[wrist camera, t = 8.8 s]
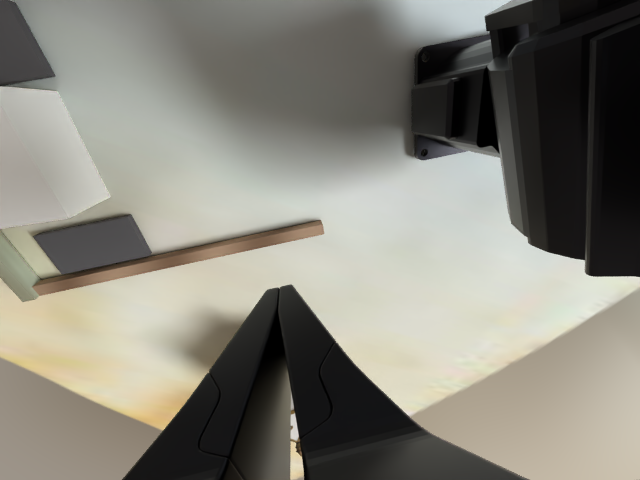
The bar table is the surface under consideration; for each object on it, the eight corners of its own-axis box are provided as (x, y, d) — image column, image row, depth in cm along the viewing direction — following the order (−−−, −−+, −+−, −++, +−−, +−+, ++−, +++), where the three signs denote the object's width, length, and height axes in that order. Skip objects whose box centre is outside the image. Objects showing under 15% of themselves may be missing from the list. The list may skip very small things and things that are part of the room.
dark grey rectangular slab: (15, 3, 12) (6, -1, 12) (151, 252, 19) (148, 255, 18) (-118, 25, 12) (-133, 21, 12) (67, 270, 19) (62, 274, 18)
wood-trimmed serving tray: (267, -71, 13) (267, -87, 12) (322, 229, 20) (325, 236, 19) (-208, 4, 12) (-258, -6, 10) (37, 291, 19) (22, 302, 18)
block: (60, 91, 14) (-12, 85, 11) (112, 196, 17) (68, 218, 14) (-60, 104, 14) (-175, 103, 10) (14, 210, 17) (-58, 237, 13)
